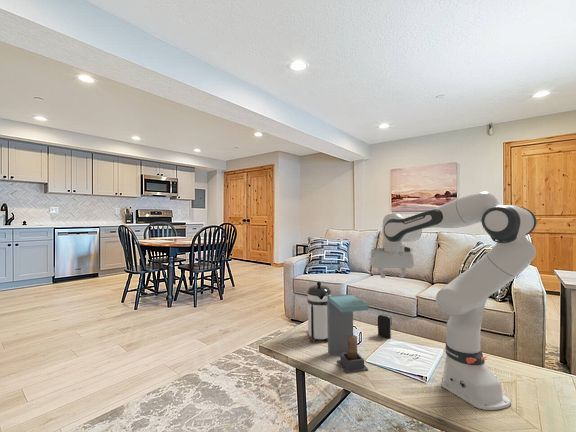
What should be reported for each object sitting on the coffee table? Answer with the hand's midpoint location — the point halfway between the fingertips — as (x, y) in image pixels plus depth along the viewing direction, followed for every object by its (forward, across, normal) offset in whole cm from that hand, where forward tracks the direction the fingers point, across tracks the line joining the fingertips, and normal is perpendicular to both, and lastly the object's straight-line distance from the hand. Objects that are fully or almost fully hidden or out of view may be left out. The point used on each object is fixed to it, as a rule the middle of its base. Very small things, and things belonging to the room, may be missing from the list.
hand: (392, 277), depth 139 cm
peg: (+36, -22, -6) cm, 43 cm away
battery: (+34, +7, +21) cm, 40 cm away
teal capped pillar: (+37, -22, -1) cm, 43 cm away
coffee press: (+35, -29, +26) cm, 52 cm away
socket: (+37, -22, -6) cm, 43 cm away
